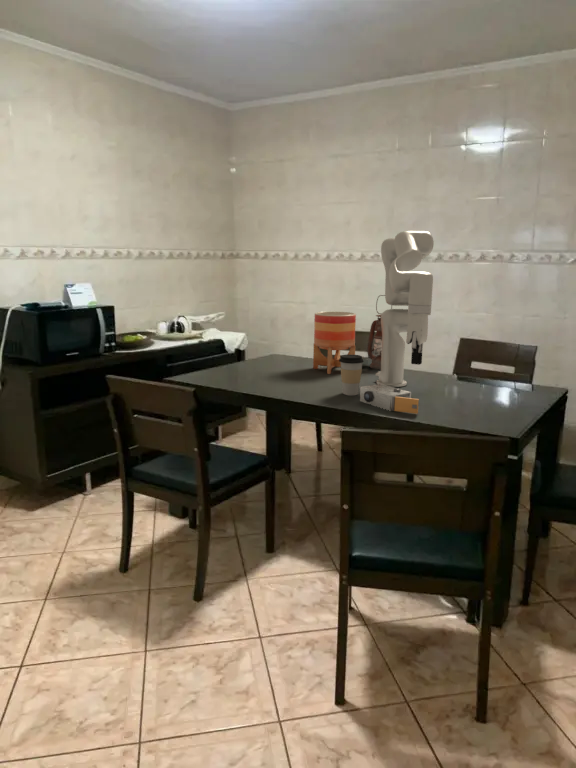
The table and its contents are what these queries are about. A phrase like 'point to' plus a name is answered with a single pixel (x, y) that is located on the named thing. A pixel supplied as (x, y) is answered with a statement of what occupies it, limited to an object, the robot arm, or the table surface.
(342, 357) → the coffee cup
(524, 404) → the table surface
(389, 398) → the camera case
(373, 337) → the lantern
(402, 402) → the side door
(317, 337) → the planter
